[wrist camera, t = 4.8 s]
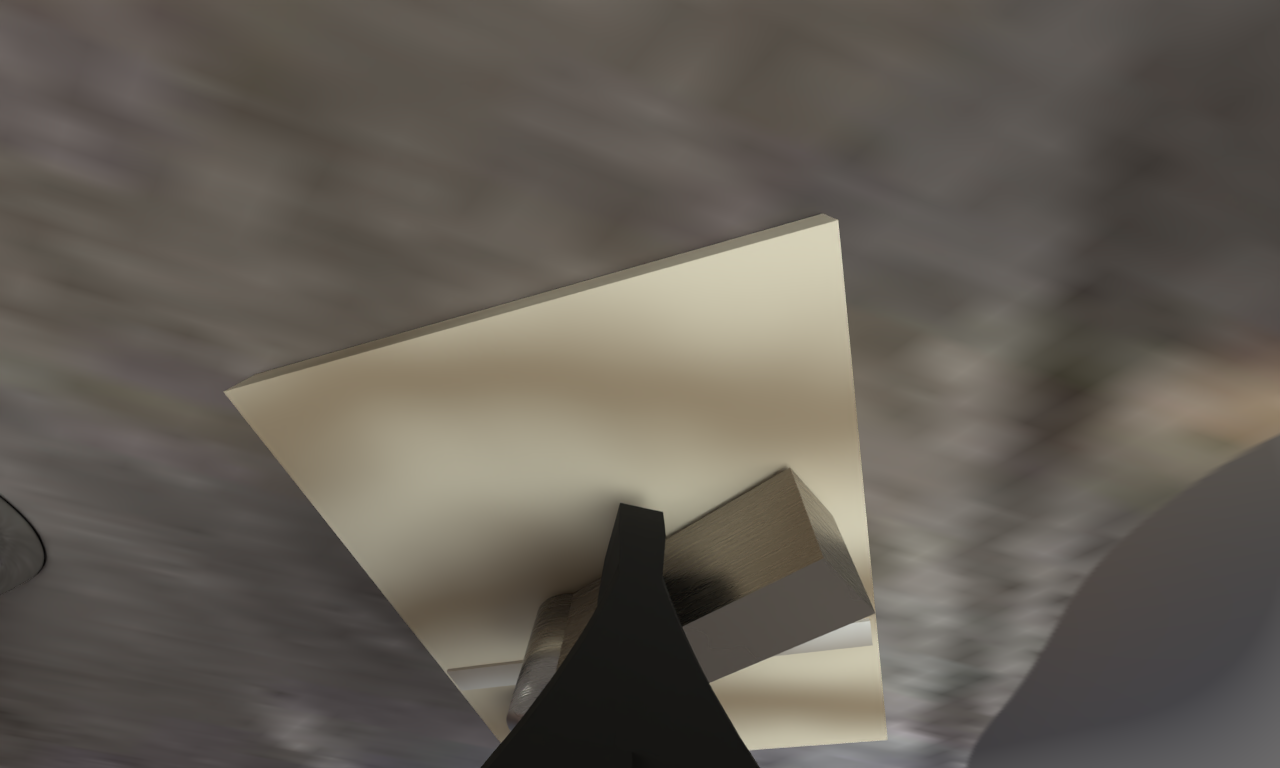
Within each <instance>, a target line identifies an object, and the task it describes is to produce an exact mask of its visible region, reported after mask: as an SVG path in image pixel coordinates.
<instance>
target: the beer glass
mask: <svg viewBox="0 0 1280 768" xmlns="http://www.w3.org/2000/svg"><path fill="white" fill-rule="evenodd" d="M43 562H44V550H43V547H42V544H41V542H40V540H39V538H38V536H37V534H36V533H35V531H34V530H33V529H32V527H31V526H30V525H29V524H28V522H27V521H26V520H25V519H24V518H23V517H22V516H21V515H20V514H19V513H18V512H17V511H16V510H15V509H14V508H13V507H12V506H10V505H9V504H8V503H7V502H6V501H4V500H3V499H2V498H0V595H2V594H4V593H6V592H8V591H10V590H12V589H14V588H15V587H17V586H19V585H21V584H23V583H24V582H26V581H28V580H29V579H31V578H32V577H34V576H35V575H36V574H37V573H38V572H39V571H40V569H41V568H42V566H43Z"/></svg>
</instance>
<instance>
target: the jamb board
mask: <svg viewBox="0 0 1280 768" xmlns="http://www.w3.org/2000/svg"><path fill="white" fill-rule="evenodd" d="M224 393H225V394H226V395H227V397H228V398H229V399H230V400H231V402H232V403H233V404H234V406H235V407H236V408H237V409H238V411H239V412H240V413H241V414H242V416H243V417H244V418H245V419H246V421H247V422H248V423H249V425H250V426H251V427H252V428H253V430H254V431H255V432H256V433H257V435H258V436H259V437H260V438H261V440H262V441H263V442H264V444H265V445H266V446H267V447H268V449H269V450H270V451H271V452H272V454H273V455H274V456H275V457H276V459H277V460H278V461H279V463H280V464H281V465H282V466H283V468H284V469H285V470H286V471H287V473H288V474H289V475H290V476H291V478H292V479H293V480H294V482H295V483H296V484H297V485H298V487H299V488H300V489H301V490H302V492H303V493H304V494H305V495H306V497H307V498H308V499H309V501H310V502H311V503H312V504H313V506H314V507H315V508H316V509H317V511H318V512H319V513H320V514H321V516H322V517H323V518H324V520H325V521H326V522H327V523H328V525H329V526H330V527H331V528H332V530H333V531H334V532H335V533H336V535H337V536H338V537H339V539H340V540H341V541H342V542H343V544H344V545H345V546H346V547H347V549H348V550H349V551H350V552H351V554H352V555H353V556H354V558H355V559H356V560H357V561H358V563H359V564H360V565H361V566H362V568H363V569H364V570H365V571H366V573H367V574H368V575H369V577H370V578H371V579H372V580H373V582H374V583H375V584H376V585H377V587H378V588H379V589H380V590H381V592H382V593H383V594H384V596H385V597H386V598H387V599H388V601H389V602H390V603H391V604H392V606H393V607H394V608H395V609H396V611H397V612H398V613H399V615H400V616H401V617H402V618H403V620H404V621H405V622H406V623H407V625H408V626H409V627H410V628H411V630H412V631H413V632H414V634H415V635H416V636H417V637H418V639H419V640H420V641H421V642H422V644H423V645H424V646H425V647H426V649H427V650H428V651H429V653H430V654H431V655H432V656H433V658H434V659H435V660H436V661H437V663H438V664H439V665H440V666H441V668H442V669H443V670H444V672H445V673H446V674H447V675H448V677H449V678H450V679H451V680H452V682H453V683H454V684H455V685H456V687H457V688H458V689H459V690H460V692H461V693H462V694H463V696H464V697H465V698H466V699H467V701H468V702H469V703H470V704H471V706H472V707H473V708H474V709H475V711H476V712H477V713H478V715H479V716H480V717H481V718H482V720H483V721H484V722H485V723H486V725H487V726H488V727H489V728H490V730H491V731H492V732H493V734H494V735H495V736H496V737H497V739H498V740H499V741H500V742H501V743H502V741H503V740H504V739H505V738H506V737H507V735H508V734H509V733H510V732H511V731H510V730H509V728H508V726H507V722H506V718H507V714H508V710H509V707H510V704H511V700H512V697H513V693H514V690H515V686H516V683H517V680H518V676H519V673H520V669H521V666H522V663H523V659H524V656H525V652H526V649H527V646H528V642H529V639H530V635H531V632H532V628H533V625H534V622H535V618H536V615H537V611H538V609H539V607H540V605H541V604H542V603H543V602H544V601H545V600H547V599H548V598H550V597H552V596H555V595H559V594H565V593H575V592H576V591H578V590H580V589H581V588H583V587H585V586H587V585H588V584H590V583H592V582H593V581H595V580H597V579H599V578H600V577H602V571H603V565H604V560H605V556H606V552H607V549H608V545H609V541H610V538H611V534H612V530H613V527H614V523H615V519H616V516H617V512H618V509H619V505H620V503H624V504H628V505H633V506H638V507H642V508H647V509H652V510H657V511H661V512H663V515H664V522H665V532H666V539H668V538H669V537H671V536H673V535H674V534H676V533H678V532H680V531H681V530H683V529H685V528H687V527H688V526H690V525H692V524H693V523H695V522H697V521H699V520H700V519H702V518H704V517H705V516H707V515H709V514H711V513H712V512H714V511H716V510H718V509H719V508H721V507H723V506H724V505H726V504H728V503H730V502H731V501H733V500H735V499H737V498H738V497H740V496H742V495H743V494H745V493H747V492H749V491H750V490H752V489H754V488H755V487H757V486H759V485H761V484H762V483H764V482H766V481H768V480H769V479H771V478H773V477H774V476H776V475H778V474H780V473H781V472H783V471H785V470H787V469H788V468H791V469H792V470H793V471H794V472H795V474H796V475H797V476H798V477H799V478H800V479H801V480H802V481H803V483H804V484H805V485H806V486H807V487H808V488H809V489H810V490H811V492H812V493H813V494H814V495H815V496H816V497H817V498H818V499H819V501H820V502H821V503H822V504H823V505H824V506H825V507H826V508H827V510H828V511H829V512H830V513H831V514H832V515H833V517H834V519H835V522H836V524H837V526H838V528H839V531H840V533H841V535H842V538H843V540H844V542H845V544H846V547H847V549H848V551H849V554H850V556H851V558H852V560H853V563H854V565H855V567H856V570H857V572H858V574H859V576H860V579H861V581H862V583H863V586H864V588H865V590H866V592H867V595H868V597H869V599H870V602H871V604H872V606H873V608H874V611H875V603H874V593H873V582H872V572H871V561H870V551H869V540H868V529H867V519H866V508H865V498H864V487H863V477H862V466H861V456H860V445H859V435H858V424H857V414H856V403H855V392H854V382H853V371H852V361H851V350H850V340H849V329H848V319H847V308H846V298H845V287H844V276H843V266H842V255H841V245H840V234H839V224H838V220H837V219H835V218H832V217H830V216H827V215H825V214H819V215H816V216H812V217H809V218H805V219H802V220H798V221H795V222H791V223H788V224H784V225H781V226H777V227H774V228H770V229H766V230H763V231H759V232H756V233H752V234H749V235H745V236H742V237H738V238H735V239H731V240H728V241H724V242H721V243H717V244H714V245H710V246H707V247H703V248H699V249H696V250H692V251H689V252H685V253H682V254H678V255H675V256H671V257H668V258H664V259H661V260H657V261H654V262H650V263H647V264H643V265H639V266H636V267H632V268H629V269H625V270H622V271H618V272H615V273H611V274H608V275H604V276H601V277H597V278H594V279H590V280H587V281H583V282H580V283H576V284H572V285H569V286H565V287H562V288H558V289H555V290H551V291H548V292H544V293H541V294H537V295H534V296H530V297H527V298H523V299H520V300H516V301H512V302H509V303H505V304H502V305H498V306H495V307H491V308H488V309H484V310H481V311H477V312H474V313H470V314H467V315H463V316H460V317H456V318H453V319H449V320H445V321H442V322H438V323H435V324H431V325H428V326H424V327H421V328H417V329H414V330H410V331H407V332H403V333H400V334H396V335H393V336H389V337H385V338H382V339H378V340H375V341H371V342H368V343H364V344H361V345H357V346H354V347H350V348H347V349H343V350H340V351H336V352H333V353H329V354H325V355H322V356H318V357H315V358H311V359H308V360H304V361H301V362H297V363H294V364H290V365H287V366H283V367H280V368H276V369H273V370H269V371H266V372H262V373H258V374H255V375H253V376H252V377H250V378H248V379H246V380H244V381H242V382H240V383H239V384H237V385H235V386H233V387H231V388H229V389H227V390H226V391H224ZM666 539H665V540H666ZM709 684H710V685H711V687H712V689H713V691H714V693H715V695H716V696H717V698H718V700H719V701H720V703H721V705H722V707H723V708H724V710H725V712H726V713H727V715H728V717H729V719H730V720H731V722H732V724H733V725H734V727H735V729H736V731H737V732H738V734H739V736H740V738H741V739H742V741H743V742H744V744H745V745H746V747H747V748H748V750H758V749H771V748H785V747H798V746H812V745H826V744H839V743H853V742H867V741H880V740H887V730H886V719H885V709H884V698H883V688H882V677H881V667H880V656H879V645H878V635H877V624H876V614H873V615H870V616H868V617H866V618H863V619H861V620H858V621H856V622H854V623H851V624H849V625H847V626H844V627H842V628H839V629H837V630H835V631H832V632H830V633H827V634H825V635H823V636H820V637H818V638H815V639H813V640H811V641H808V642H806V643H804V644H801V645H799V646H796V647H794V648H792V649H789V650H787V651H784V652H782V653H780V654H777V655H775V656H773V657H770V658H768V659H765V660H763V661H761V662H758V663H756V664H753V665H751V666H749V667H746V668H744V669H741V670H739V671H737V672H734V673H732V674H730V675H727V676H725V677H722V678H720V679H718V680H715V681H713V682H710V683H709Z"/></svg>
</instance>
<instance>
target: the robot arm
mask: <svg viewBox="0 0 1280 768" xmlns="http://www.w3.org/2000/svg"><path fill="white" fill-rule="evenodd" d="M665 539H666V532H665V522H664V515H663V512H661V511H657V510H652V509H647V508H642V507H638V506H633V505H628V504H624V503H620V505H619V509H618V512H617V516H616V519H615V523H614V527H613V530H612V534H611V538H610V541H609V545H608V549H607V552H606V556H605V560H604V565H603V571H602V577H601V582H600V588H599V594H598V600H597V608H596V610H595V611H594V613H593V615H592V617H591V618H590V620H589V622H588V623H587V625H586V627H585V628H584V630H583V632H582V633H581V635H580V636H579V638H578V640H577V641H576V643H575V644H574V646H573V647H572V649H571V650H570V652H569V653H568V655H567V656H566V658H565V659H564V661H563V662H562V664H561V665H560V667H559V668H558V670H557V671H556V673H555V674H554V675H553V677H552V678H551V680H550V681H549V682H548V684H547V685H546V686H545V688H544V689H543V690H542V692H541V693H540V694H539V696H538V697H537V698H536V700H535V701H534V702H533V704H532V705H531V706H530V708H529V709H528V710H527V712H526V713H525V714H524V716H523V717H522V718H521V719H520V721H519V722H518V723H517V725H516V726H515V727H514V728H513V729H512V731H511V732H510V733H509V734H508V735H507V737H506V738H505V739H504V740H503V741H502V743H501V744H500V745H499V746H498V747H497V749H496V750H495V751H494V752H493V753H492V755H491V756H490V757H489V758H488V759H487V761H486V762H485V763H484V764H483V766H482V767H481V768H760V767H759V766H758V764H757V763H756V761H755V759H754V758H753V756H752V755H751V753H750V752H749V750H748V748H747V747H746V745H745V744H744V742H743V741H742V739H741V738H740V736H739V734H738V732H737V731H736V729H735V727H734V725H733V724H732V722H731V720H730V719H729V717H728V715H727V713H726V712H725V710H724V708H723V707H722V705H721V703H720V701H719V700H718V698H717V696H716V695H715V693H714V691H713V689H712V687H711V685H710V684H709V682H708V680H707V678H706V676H705V674H704V672H703V670H702V668H701V666H700V664H699V662H698V660H697V658H696V656H695V654H694V652H693V650H692V647H691V645H690V643H689V641H688V639H687V637H686V634H685V632H684V630H683V627H682V625H681V623H680V620H679V618H678V615H677V613H676V610H675V608H674V605H673V603H672V600H671V597H670V595H669V592H668V589H667V586H666V583H665V580H664V577H663V565H664V552H665Z"/></svg>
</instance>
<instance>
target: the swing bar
mask: <svg viewBox="0 0 1280 768" xmlns="http://www.w3.org/2000/svg"><path fill="white" fill-rule="evenodd" d="M663 577H664V580H665V583H666V586H667V589H668V592H669V595H670V597H671V600H672V603H673V605H674V608H675V610H676V613H677V615H678V618H679V620H680V623H681V625H682V627H683V630H684V632H685V634H686V637H687V639H688V641H689V643H690V645H691V647H692V650H693V652H694V654H695V656H696V658H697V660H698V662H699V664H700V666H701V668H702V670H703V672H704V674H705V676H706V678H707V680H708V682H709V683H710V682H713V681H715V680H718V679H720V678H722V677H725V676H727V675H730V674H732V673H734V672H737V671H739V670H741V669H744V668H746V667H749V666H751V665H753V664H756V663H758V662H761V661H763V660H765V659H768V658H770V657H773V656H775V655H777V654H780V653H782V652H784V651H787V650H789V649H792V648H794V647H796V646H799V645H801V644H804V643H806V642H808V641H811V640H813V639H815V638H818V637H820V636H823V635H825V634H827V633H830V632H832V631H835V630H837V629H839V628H842V627H844V626H847V625H849V624H851V623H854V622H856V621H858V620H861V619H863V618H866V617H868V616H870V615H873V614H875V611H874V608H873V606H872V604H871V602H870V599H869V597H868V595H867V592H866V590H865V588H864V586H863V583H862V581H861V579H860V576H859V574H858V572H857V570H856V567H855V565H854V563H853V560H852V558H851V556H850V554H849V551H848V549H847V547H846V544H845V542H844V540H843V538H842V535H841V533H840V531H839V528H838V526H837V524H836V522H835V519H834V517H833V515H832V514H831V513H830V512H829V511H828V510H827V508H826V507H825V506H824V505H823V504H822V503H821V502H820V501H819V499H818V498H817V497H816V496H815V495H814V494H813V493H812V492H811V490H810V489H809V488H808V487H807V486H806V485H805V484H804V483H803V481H802V480H801V479H800V478H799V477H798V476H797V475H796V474H795V472H794V471H793V470H792V469H791V468H788V469H787V470H785V471H783V472H781V473H780V474H778V475H776V476H774V477H773V478H771V479H769V480H768V481H766V482H764V483H762V484H761V485H759V486H757V487H755V488H754V489H752V490H750V491H749V492H747V493H745V494H743V495H742V496H740V497H738V498H737V499H735V500H733V501H731V502H730V503H728V504H726V505H724V506H723V507H721V508H719V509H718V510H716V511H714V512H712V513H711V514H709V515H707V516H705V517H704V518H702V519H700V520H699V521H697V522H695V523H693V524H692V525H690V526H688V527H687V528H685V529H683V530H681V531H680V532H678V533H676V534H674V535H673V536H671V537H669V538H668V539H666V540H665V552H664V565H663ZM600 582H601V577H600V578H599V579H597V580H595V581H593V582H592V583H590V584H588V585H587V586H585V587H583V588H581V589H580V590H578V591H576V592H575V593H565V594H559V595H555V596H552V597H550V598H548V599H547V600H545V601H544V602H543V603H542V604H541V605H540V607H539V609H538V611H537V615H536V618H535V622H534V625H533V628H532V632H531V635H530V639H529V642H528V646H527V649H526V652H525V656H524V659H523V663H522V666H521V669H520V673H519V676H518V680H517V683H516V686H515V690H514V693H513V697H512V700H511V704H510V707H509V710H508V714H507V718H506V722H507V726H508V728H509V730H510V731H512V729H513V728H514V727H515V726H516V725H517V723H518V722H519V721H520V719H521V718H522V717H523V716H524V714H525V713H526V712H527V710H528V709H529V708H530V706H531V705H532V704H533V702H534V701H535V700H536V698H537V697H538V696H539V694H540V693H541V692H542V690H543V689H544V688H545V686H546V685H547V684H548V682H549V681H550V680H551V678H552V677H553V675H554V674H555V673H556V671H557V670H558V668H559V667H560V665H561V664H562V662H563V661H564V659H565V658H566V656H567V655H568V653H569V652H570V650H571V649H572V647H573V646H574V644H575V643H576V641H577V640H578V638H579V636H580V635H581V633H582V632H583V630H584V628H585V627H586V625H587V623H588V622H589V620H590V618H591V617H592V615H593V613H594V611H595V610H596V608H597V600H598V594H599V588H600Z"/></svg>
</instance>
